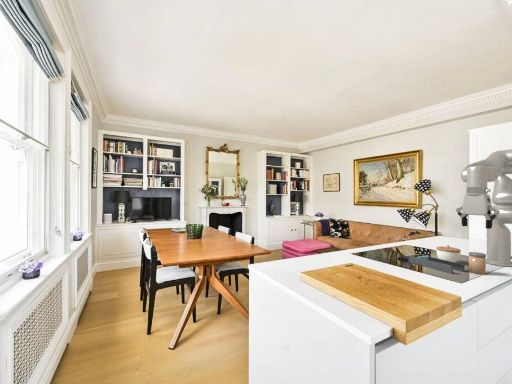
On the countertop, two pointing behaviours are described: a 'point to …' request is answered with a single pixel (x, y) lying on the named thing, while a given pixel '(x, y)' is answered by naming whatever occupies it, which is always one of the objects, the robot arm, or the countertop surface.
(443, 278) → the countertop surface
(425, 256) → the pusher
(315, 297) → the countertop surface
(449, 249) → the lidded jar
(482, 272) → the jar
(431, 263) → the lane
